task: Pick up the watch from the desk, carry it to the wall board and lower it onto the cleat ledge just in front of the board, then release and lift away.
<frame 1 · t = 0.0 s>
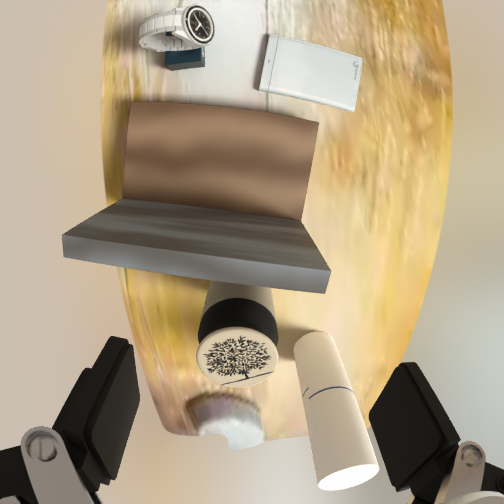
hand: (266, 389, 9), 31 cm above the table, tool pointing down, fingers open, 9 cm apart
wall board: (217, 163, 37), on the table
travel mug: (240, 274, 43), on the table
watch: (188, 49, 31), on the table
hard drive: (310, 73, 33), on the table
cylindrical container: (313, 347, 48), on the table
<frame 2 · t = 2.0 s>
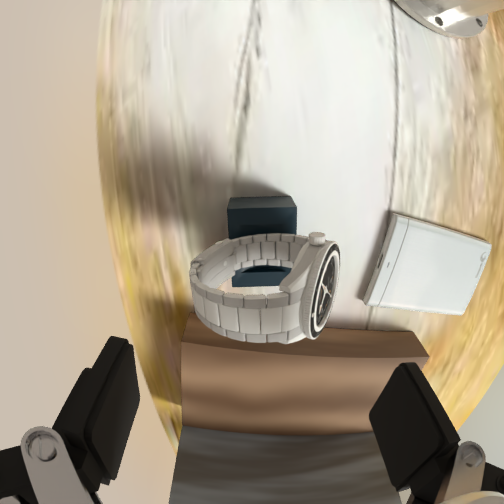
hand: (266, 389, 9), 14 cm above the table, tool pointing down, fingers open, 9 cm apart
wall board: (296, 379, 28), on the table
watch: (262, 231, 22), on the table
hard drive: (428, 266, 24), on the table
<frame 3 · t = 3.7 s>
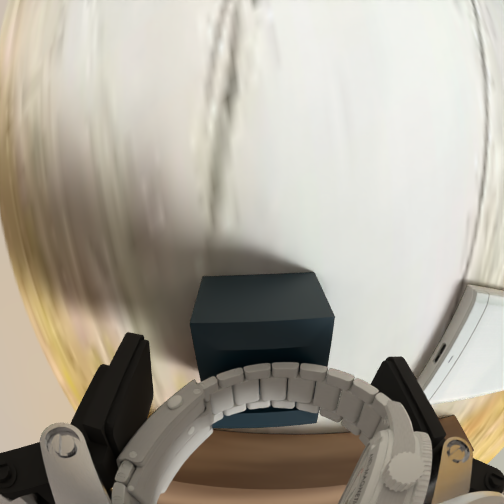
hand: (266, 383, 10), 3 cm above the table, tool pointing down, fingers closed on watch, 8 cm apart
wall board: (304, 476, 18), on the table
watch: (262, 328, 13), on the table, touching gripper
hard drive: (488, 341, 15), on the table
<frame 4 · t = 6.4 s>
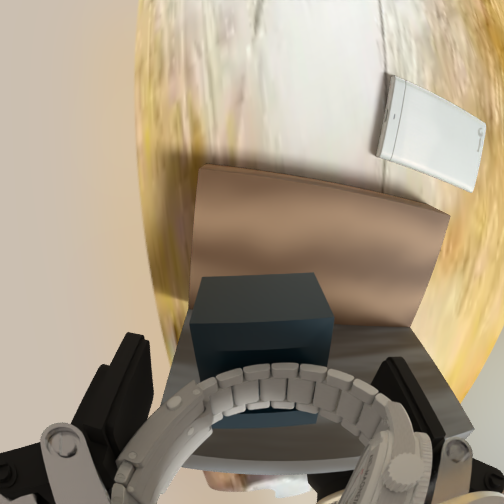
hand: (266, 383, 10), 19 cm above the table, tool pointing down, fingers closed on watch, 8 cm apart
wall board: (315, 254, 28), on the table
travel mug: (323, 369, 34), on the table
watch: (261, 328, 13), point 15 cm above the table, touching gripper
hard drive: (431, 136, 24), on the table
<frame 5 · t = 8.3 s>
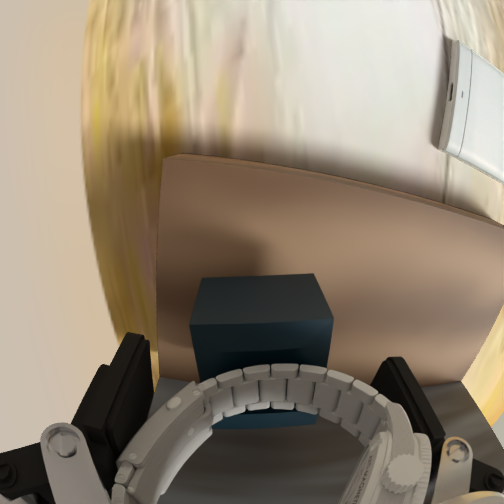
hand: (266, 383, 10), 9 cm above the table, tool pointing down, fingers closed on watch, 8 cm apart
wall board: (348, 292, 18), on the table
watch: (261, 329, 13), point 5 cm above the table, touching gripper
hard drive: (497, 128, 15), on the table
when the fingers open (8 cm above the table, at t = 9.4 s): watch drops 1 cm, resting on wall board.
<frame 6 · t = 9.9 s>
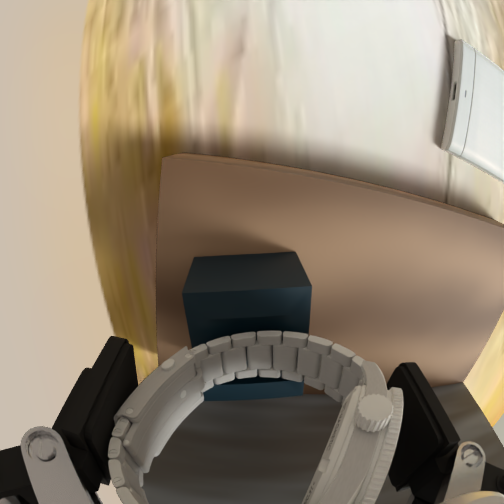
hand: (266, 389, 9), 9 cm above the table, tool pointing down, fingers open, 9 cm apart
wall board: (350, 293, 18), on the table
watch: (249, 306, 14), point 4 cm above the table, touching gripper, wall board
hard drive: (500, 128, 14), on the table
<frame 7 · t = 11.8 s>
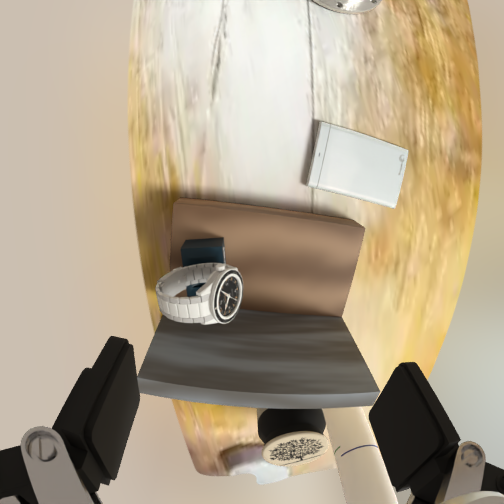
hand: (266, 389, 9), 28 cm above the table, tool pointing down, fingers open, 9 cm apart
wall board: (262, 261, 38), on the table
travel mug: (279, 354, 44), on the table
watch: (208, 260, 34), point 4 cm above the table, touching wall board
hard drive: (356, 165, 35), on the table
cylindrical container: (340, 404, 49), on the table
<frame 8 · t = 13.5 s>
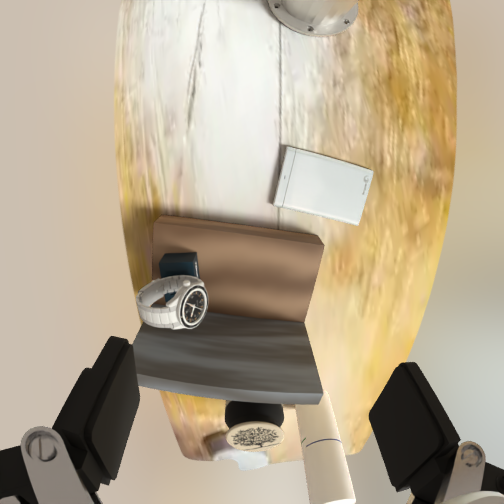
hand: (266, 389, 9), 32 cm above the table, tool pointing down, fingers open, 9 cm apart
wall board: (233, 270, 43), on the table
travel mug: (252, 351, 49), on the table
watch: (184, 271, 39), point 4 cm above the table, touching wall board
hard drive: (322, 185, 40), on the table
cylindrical container: (311, 399, 55), on the table
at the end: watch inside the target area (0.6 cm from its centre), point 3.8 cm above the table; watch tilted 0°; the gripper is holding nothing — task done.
